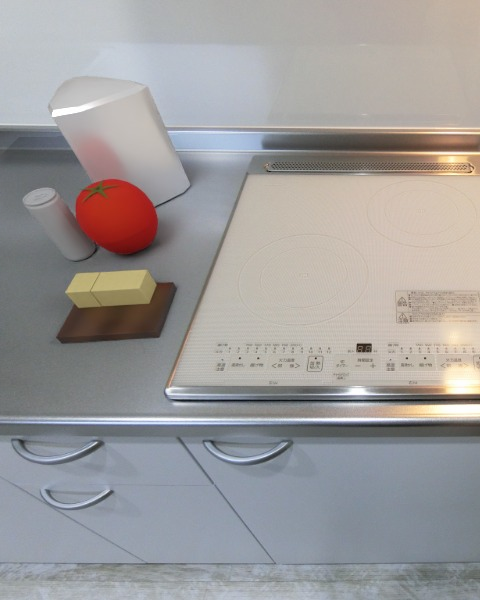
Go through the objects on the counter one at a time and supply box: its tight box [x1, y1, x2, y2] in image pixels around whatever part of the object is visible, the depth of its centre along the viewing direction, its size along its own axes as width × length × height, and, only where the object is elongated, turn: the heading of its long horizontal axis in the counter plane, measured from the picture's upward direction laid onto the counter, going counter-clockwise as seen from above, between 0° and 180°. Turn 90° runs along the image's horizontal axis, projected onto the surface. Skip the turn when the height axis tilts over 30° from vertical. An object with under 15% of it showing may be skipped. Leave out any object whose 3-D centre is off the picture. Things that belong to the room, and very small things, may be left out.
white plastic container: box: [47, 75, 191, 207], centre depth 79 cm, size 15×14×22 cm
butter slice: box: [65, 271, 102, 308], centre depth 66 cm, size 4×4×4 cm
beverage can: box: [21, 187, 96, 262], centre depth 72 cm, size 5×5×12 cm
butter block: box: [91, 269, 157, 306], centre depth 67 cm, size 7×4×4 cm, turn 94°
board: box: [55, 281, 177, 344], centre depth 67 cm, size 14×10×2 cm
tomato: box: [74, 179, 159, 255], centre depth 73 cm, size 11×11×13 cm
